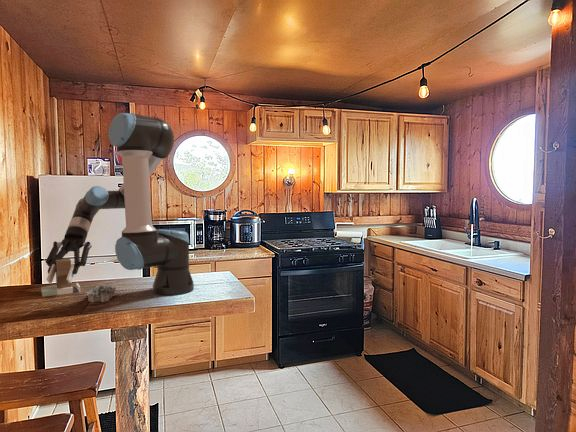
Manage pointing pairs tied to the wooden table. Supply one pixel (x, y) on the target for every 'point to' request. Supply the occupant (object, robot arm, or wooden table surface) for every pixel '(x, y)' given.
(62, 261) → the walnut block
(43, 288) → the board
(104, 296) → the egg carton
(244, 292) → the wooden table surface
